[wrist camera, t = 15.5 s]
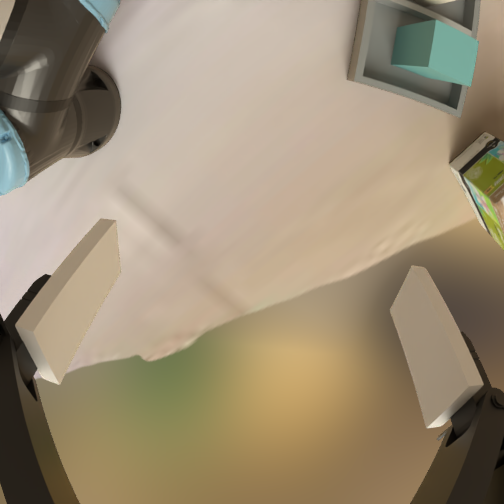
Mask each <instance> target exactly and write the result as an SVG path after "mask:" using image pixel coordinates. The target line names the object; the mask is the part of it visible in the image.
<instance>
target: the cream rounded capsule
mask: <svg viewBox="0 0 504 504" xmlns="http://www.w3.org/2000/svg"><path fill="white" fill-rule="evenodd" d="M413 1H414V2H416V3H417V4H419V5H421V6H425V7H431V6H435V5H439V4H443V3H447V2H451V1H455V0H413Z"/></svg>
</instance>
